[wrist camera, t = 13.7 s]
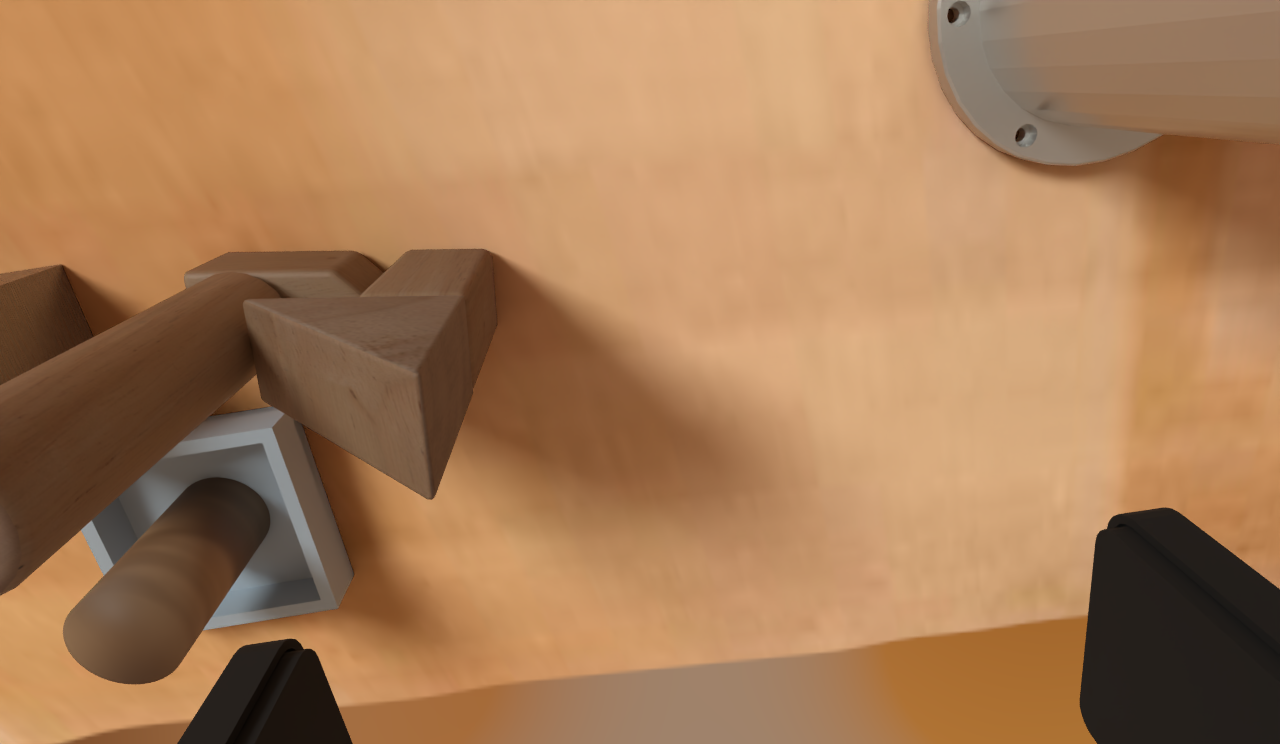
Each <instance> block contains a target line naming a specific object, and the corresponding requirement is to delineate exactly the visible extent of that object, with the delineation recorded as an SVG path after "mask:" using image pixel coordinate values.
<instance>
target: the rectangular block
mask: <svg viewBox="0 0 1280 744" xmlns="http://www.w3.org/2000/svg"><path fill="white" fill-rule="evenodd" d="M91 338H93V335H92V333H91V331H90V328H89V326H88V324H87V322H86V319H85V317H84V315H83V312H82V310H81V308H80V306H79V303H78V301H77V299H76V297H75V294H74V292H73V290H72V288H71V285H70V283H69V281H68V279H67V276H66V274H65V272H64V270H63V267H62V265H55V266H48V267H42V268H36V269H29V270H23V271H17V272H10V273H4V274H0V385H2V384H4V383H6V382H8V381H10V380H12V379H14V378H15V377H17V376H19V375H21V374H23V373H25V372H27V371H29V370H31V369H33V368H35V367H37V366H39V365H41V364H42V363H44V362H46V361H48V360H50V359H52V358H54V357H56V356H58V355H60V354H62V353H64V352H66V351H68V350H69V349H71V348H73V347H75V346H77V345H79V344H81V343H83V342H85V341H87V340H89V339H91Z"/></svg>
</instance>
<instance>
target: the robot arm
mask: <svg viewBox="0 0 1280 744" xmlns="http://www.w3.org/2000/svg"><path fill="white" fill-rule="evenodd" d="M949 9H951V10H952V11H953V13H954V17H953V20H952V21H951V22H950V23H949V22H948V18H947V14H948V10H949ZM928 34H929V41H930V49H931V56H932V62H933V65H934V68H935V71H936V74H937V76H938V79H939V82H940V85H941V88H942V91H943V92H944V94H945V96H946V97H947V99H948V101H949V103H950V104H951V106H952V108H953V109H954V111H955V113H956V115H957V116H958V117H959V118H960V119H961V120H962V121H963V122H964V123H965V124H966V125H967V127H968V128H969V129H970V130H971V131H972V132H973V133H974V134H975V135H976V136H977V137H979V138H980V139H982V140H983V141H985V142H986V143H988V144H989V145H991V146H992V147H994V148H995V149H997V150H998V151H1001V152H1003V153H1006V154H1009V155H1011V156H1014V157H1016V158H1019V159H1022V160H1026V161H1032V162H1037V163H1041V164H1046V165H1065V166H1079V165H1085V164H1091V163H1098V162H1104V161H1107V160H1110V159H1113V158H1116V157H1119V156H1122V155H1124V154H1127V153H1130V152H1133V151H1135V150H1137V149H1139V148H1141V147H1142V146H1144V145H1146V144H1148V143H1150V142H1151V141H1153V140H1155V139H1157V138H1159V137H1160V136H1162V135H1164V134H1168V135H1179V136H1190V137H1201V138H1212V139H1223V140H1234V141H1245V142H1256V143H1267V144H1278V145H1280V0H929V7H928ZM1018 129H1019V137H1018V138H1017V139H1016V140H1015V136H1016V132H1017V130H1018ZM1080 709H1081V713H1082V717H1083V719H1084V722H1085V724H1086V726H1087V729H1088V730H1089V732H1090V734H1091V735H1092V737H1093V738H1094V739H1095V741H1096V742H1097V744H1280V589H1279V588H1277V587H1276V586H1275V585H1273V584H1272V583H1271V582H1269V581H1268V580H1267V579H1266V578H1264V577H1263V576H1262V575H1260V574H1259V573H1258V572H1256V571H1255V570H1254V569H1252V568H1251V567H1250V566H1249V565H1247V564H1246V563H1245V562H1243V561H1242V560H1241V559H1239V558H1238V557H1237V556H1235V555H1234V554H1233V553H1231V552H1230V551H1229V550H1228V549H1226V548H1225V547H1224V546H1222V545H1221V544H1220V543H1218V542H1217V541H1216V540H1214V539H1213V538H1212V537H1211V536H1209V535H1208V534H1207V533H1205V532H1204V531H1203V530H1201V529H1200V528H1199V527H1197V526H1196V525H1195V524H1194V523H1192V522H1191V521H1190V520H1188V519H1187V518H1186V517H1184V516H1183V515H1182V514H1180V513H1179V512H1177V511H1175V510H1173V509H1171V508H1158V509H1151V510H1144V511H1138V512H1131V513H1124V514H1118V515H1116V516H1113V517H1112V518H1111V520H1110V521H1109V523H1108V527H1107V529H1104V530H1102V531H1100V532H1099V533H1098V535H1097V538H1096V542H1095V552H1094V562H1093V572H1092V582H1091V592H1090V602H1089V612H1088V623H1087V632H1086V642H1085V652H1084V663H1083V672H1082V682H1081V692H1080ZM178 744H352V741H351V738H350V736H349V733H348V731H347V728H346V726H345V723H344V721H343V719H342V716H341V713H340V711H339V708H338V706H337V703H336V701H335V698H334V696H333V693H332V691H331V688H330V686H329V683H328V681H327V678H326V676H325V673H324V671H323V668H322V666H321V663H320V661H319V658H318V656H317V654H316V652H314V651H313V650H312V649H303V647H302V645H301V644H300V643H299V642H298V641H297V640H296V639H284V640H278V641H271V642H264V643H258V644H251V645H245V646H243V647H241V648H239V650H238V651H237V652H236V653H235V654H234V655H233V657H232V659H231V660H230V662H229V663H228V665H227V666H226V668H225V670H224V671H223V673H222V674H221V676H220V677H219V679H218V681H217V682H216V684H215V685H214V687H213V688H212V690H211V692H210V693H209V695H208V696H207V698H206V699H205V701H204V703H203V704H202V706H201V707H200V709H199V710H198V712H197V714H196V715H195V717H194V718H193V720H192V721H191V723H190V725H189V726H188V728H187V729H186V731H185V732H184V734H183V736H182V737H181V739H180V740H179V742H178Z"/></svg>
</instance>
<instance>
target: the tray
mask: <svg viewBox="0 0 1280 744" xmlns="http://www.w3.org/2000/svg"><path fill="white" fill-rule="evenodd" d="M216 477H220V478H228V479H232V480H235V481H238V482H241V483H243V484H245V485H247V486H248V487H250V488H251V489H253V490H254V491H255V492H256V493H257V494H259V496H260V497H261V498H262V499H263V501H264V502H265V504H266V506H267V508H268V510H269V514H270V528H269V531H268V533H267V535H266V537H265V538H264V540H263V541H262V543H261V544H260V546H259V547H258V549H257V550H256V552H255V553H254V555H253V556H252V558H251V559H250V561H249V562H248V564H247V565H246V567H245V568H244V570H243V571H242V573H241V574H240V576H239V577H238V579H237V580H236V581H235V583H234V584H233V586H232V587H231V589H230V590H229V592H228V593H227V595H226V596H225V598H224V599H223V601H222V602H221V604H220V605H219V607H218V608H217V610H216V611H215V613H214V614H213V616H212V617H211V619H210V620H209V622H208V623H207V625H206V626H205V628H204V629H203V630H209V629H215V628H221V627H227V626H234V625H240V624H246V623H252V622H258V621H264V620H271V619H277V618H283V617H289V616H295V615H302V614H308V613H314V612H320V611H326V610H333V609H338V608H339V606H340V604H341V601H342V599H343V597H344V595H345V593H346V591H347V589H348V587H349V585H350V583H351V580H352V578H353V576H354V572H353V570H352V567H351V564H350V561H349V558H348V555H347V552H346V550H345V547H344V544H343V541H342V538H341V535H340V532H339V529H338V527H337V524H336V521H335V518H334V515H333V512H332V509H331V507H330V504H329V501H328V498H327V495H326V492H325V489H324V486H323V484H322V481H321V478H320V475H319V472H318V469H317V466H316V464H315V461H314V458H313V455H312V452H311V449H310V446H309V443H308V441H307V438H306V435H305V432H304V429H303V426H302V424H301V423H299V422H298V421H296V420H294V419H293V418H291V417H289V416H288V415H286V414H284V413H283V412H281V411H279V410H278V409H276V408H274V407H273V406H272V407H266V408H260V409H253V410H247V411H241V412H235V413H228V414H222V415H216V416H210V417H208V418H207V419H206V420H204V421H203V422H202V423H201V424H200V425H199V426H198V427H197V428H195V429H194V430H193V431H192V432H191V433H190V434H189V435H187V436H186V437H185V438H184V439H183V440H182V441H181V442H180V443H178V444H177V445H176V446H175V447H174V448H173V449H172V450H171V451H169V452H168V453H167V454H166V455H165V456H164V457H163V458H161V459H160V460H159V461H158V462H157V463H156V464H155V465H154V466H152V467H151V468H150V469H149V470H148V471H147V472H146V473H145V474H143V475H142V476H141V477H140V478H139V479H138V480H137V481H136V482H134V483H133V484H132V485H131V486H130V487H129V488H128V489H126V490H125V491H124V492H123V493H122V494H121V495H120V496H119V497H117V498H116V499H115V500H114V501H113V502H112V503H111V504H110V505H108V506H107V507H106V508H105V509H104V510H103V511H102V512H101V513H99V514H98V515H97V516H96V517H95V518H94V519H93V520H91V521H90V522H89V523H88V524H87V525H86V526H85V527H84V528H82V529H81V531H82V533H83V535H84V537H85V539H86V541H87V543H88V545H89V547H90V549H91V551H92V553H93V555H94V557H95V559H96V561H97V563H98V565H99V567H100V569H101V571H102V573H103V575H105V574H106V573H107V572H108V571H109V570H110V569H111V568H112V567H113V566H114V565H115V564H116V562H117V561H118V560H119V559H120V558H121V557H122V556H123V555H124V554H125V553H126V552H127V551H128V550H129V549H130V548H131V547H132V546H133V544H134V543H135V542H136V541H137V540H138V539H139V538H140V537H141V536H142V535H143V534H144V533H145V532H146V531H147V530H148V529H149V527H150V526H151V525H152V524H153V523H154V522H155V521H156V520H157V519H158V518H159V517H160V516H161V515H162V514H163V513H164V512H165V510H166V509H167V508H168V507H169V506H170V505H171V504H172V503H173V502H174V501H175V500H176V499H177V498H178V497H179V496H180V495H181V493H182V492H183V491H184V490H185V489H186V488H187V487H189V486H190V485H191V484H193V483H195V482H197V481H199V480H202V479H206V478H216ZM203 630H202V631H203Z"/></svg>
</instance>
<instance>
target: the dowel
mask: <svg viewBox="0 0 1280 744" xmlns="http://www.w3.org/2000/svg"><path fill="white" fill-rule="evenodd" d="M269 528H270V514H269V510H268V508H267V506H266V504H265V502H264V501H263V499H262V498H261V497H260V496H259V494H257V493H256V492H255V491H254V490H253V489H251V488H250V487H248V486H247V485H245V484H243V483H241V482H238V481H235V480H232V479H228V478H220V477H216V478H206V479H202V480H199V481H197V482H195V483H193V484H191V485H190V486H189V487H187V488H186V489H185V490H184V491H183V492H182V493H181V495H180V496H179V497H178V498H177V499H176V500H175V501H174V502H173V503H172V504H171V505H170V506H169V507H168V508H167V509H166V510H165V512H164V513H163V514H162V515H161V516H160V517H159V518H158V519H157V520H156V521H155V522H154V523H153V524H152V525H151V526H150V527H149V529H148V530H147V531H146V532H145V533H144V534H143V535H142V536H141V537H140V538H139V539H138V540H137V541H136V542H135V543H134V544H133V546H132V547H131V548H130V549H129V550H128V551H127V552H126V553H125V554H124V555H123V556H122V557H121V558H120V559H119V560H118V561H117V562H116V564H115V565H114V566H113V567H112V568H111V569H110V570H109V571H108V572H107V573H106V574H105V575H104V576H103V577H102V578H101V579H100V581H99V582H98V583H97V584H96V585H95V586H94V587H93V588H92V589H91V590H90V591H89V592H88V593H87V594H86V595H85V596H84V598H83V599H82V600H81V601H80V602H79V603H78V604H77V605H76V606H75V607H74V608H73V609H72V610H71V611H70V613H69V614H68V616H67V618H66V620H65V622H64V627H63V636H64V641H65V644H66V646H67V648H68V651H69V652H70V654H71V655H72V656H73V658H74V659H75V660H76V661H77V662H78V663H79V664H80V665H81V666H83V667H84V668H85V669H87V670H88V671H90V672H91V673H93V674H95V675H97V676H99V677H101V678H104V679H107V680H109V681H113V682H117V683H123V684H145V683H151V682H155V681H158V680H160V679H163V678H164V677H166V676H168V675H169V674H171V673H172V672H173V671H174V670H175V669H176V668H177V667H178V666H179V665H180V663H181V662H182V660H183V659H184V657H185V656H186V654H187V653H188V651H189V650H190V648H191V647H192V645H193V644H194V642H195V641H196V639H197V638H198V636H199V635H200V633H201V632H202V630H203V629H204V628H205V626H206V625H207V623H208V622H209V620H210V619H211V617H212V616H213V614H214V613H215V611H216V610H217V608H218V607H219V605H220V604H221V602H222V601H223V599H224V598H225V596H226V595H227V593H228V592H229V590H230V589H231V587H232V586H233V584H234V583H235V581H236V580H237V579H238V577H239V576H240V574H241V573H242V571H243V570H244V568H245V567H246V565H247V564H248V562H249V561H250V559H251V558H252V556H253V555H254V553H255V552H256V550H257V549H258V547H259V546H260V544H261V543H262V541H263V540H264V538H265V537H266V535H267V533H268V531H269Z"/></svg>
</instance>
